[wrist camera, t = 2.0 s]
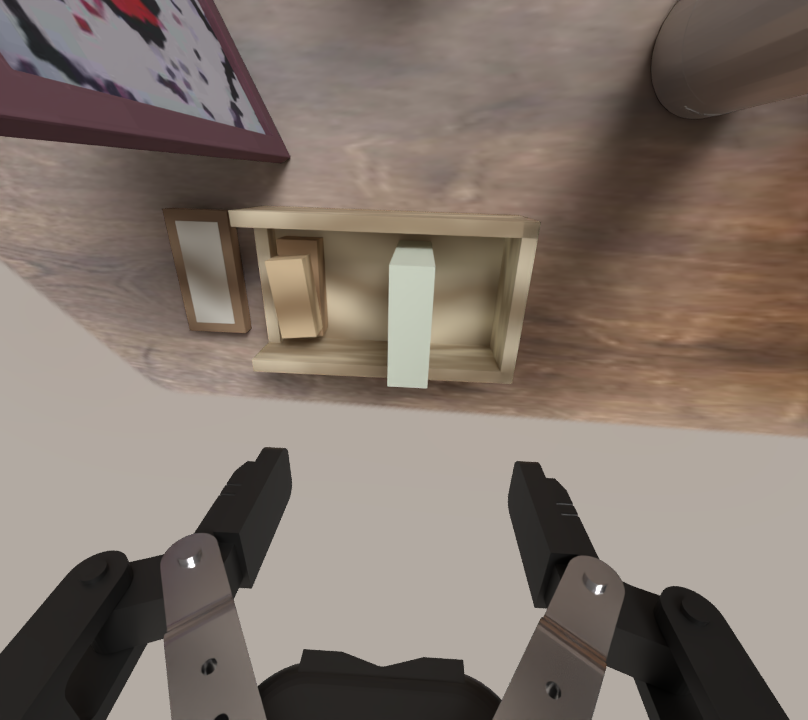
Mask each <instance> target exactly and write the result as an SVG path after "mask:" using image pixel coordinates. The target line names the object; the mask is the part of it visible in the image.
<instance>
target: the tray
mask: <svg viewBox="0 0 808 720" xmlns="http://www.w3.org/2000/svg"><path fill="white" fill-rule="evenodd" d="M228 212H229V218H230V225H231V227H249V228H254V235H255V242H256V250H257V257H258V265H259V272H260V280H261V287H262V295H263V302H264V310H265V317H266V325H267V332H268V340H269V343H268V344H267V345H266V346H265V347H264V348H263V349H262V350H261V351H260V352H259V353H258V354H257V355H256V356H255V357H254V358H253V359H252V364H253V370H254V371H255V372H276V373H296V374H316V375H337V376H357V377H378V378H387V375H388V307H389V264H390V262H391V259H392V257H393V254H394V252H395V250H396V247H397V245H398V242H399V240H406V241H431V243H432V249H433V255H434V261H435V281H434V296H433V311H432V326H431V340H430V355H429V370H428V380H439V381H459V382H480V383H500V384H512V381H513V375H514V369H515V364H516V358H517V353H518V347H519V341H520V336H521V330H522V325H523V319H524V313H525V308H526V302H527V297H528V291H529V285H530V280H531V274H532V269H533V263H534V257H535V252H536V246H537V241H538V235H539V229H540V224H541V222H539V221H535V220H532V219H529V218H526V217H522V216H519V215H499V214H472V213H445V212H419V211H392V210H365V209H338V208H312V207H285V206H258V207H250V208H243V209H235V210H228ZM283 236H305V237H323V242H324V259H325V276H326V293H327V310H328V328H327V330H326V331H325V333H324V334H323V336H319V335H317V336H316V337H300V338H282V336H281V331H280V327H279V322H278V318H277V314H276V309H275V305H274V300H273V296H272V292H271V287H270V283H269V278H268V274H267V270H266V265H265V261H266V260H269V259H271V258H273V257H275V256H278V252H277V242H276V239H278V238H281V237H283Z"/></svg>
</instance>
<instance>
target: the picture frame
mask: <svg viewBox="0 0 808 720" xmlns="http://www.w3.org/2000/svg"><path fill="white" fill-rule="evenodd" d="M0 136H5V137H15V138H26V139H36V140H46V141H57V142H67V143H77V144H87V145H98V146H108V147H118V148H128V149H139V150H149V151H159V152H169V153H180V154H190V155H200V156H210V157H221V158H231V159H241V160H251V161H262V162H272V163H282V162H284V161H286V160H288V159H290V155H289V153H288V151H287V149H286V147H285V145H284V143H283V141H282V139H281V137H280V135H279V133H278V131H277V129H276V127H275V125H274V123H273V120H272V118H271V116H270V114H269V112H268V110H267V108H266V106H265V104H264V102H263V100H262V98H261V96H260V94H259V92H258V90H257V88H256V86H255V84H254V82H253V80H252V78H251V76H250V74H249V72H248V70H247V68H246V66H245V64H244V62H243V60H242V58H241V56H240V54H239V52H238V50H237V48H236V46H235V44H234V42H233V40H232V38H231V35H230V33H229V31H228V29H227V27H226V25H225V23H224V21H223V19H222V17H221V15H220V13H219V11H218V9H217V7H216V5H215V3H214V1H213V0H0Z"/></svg>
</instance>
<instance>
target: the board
mask: <svg viewBox="0 0 808 720" xmlns="http://www.w3.org/2000/svg"><path fill="white" fill-rule="evenodd" d="M162 210H163V214H164V219H165V223H166V228H167V232H168V236H169V241H170V245H171V249H172V254H173V258H174V263H175V267H176V271H177V276H178V280H179V284H180V289H181V293H182V298H183V302H184V306H185V311H186V315H187V319H188V324H189V328H190V330H191V331H213V332H235V333H246V332H248V331H249V330H250V329H251V328H252V327H251V321H250V314H249V307H248V301H247V294H246V288H245V281H244V275H243V268H242V262H241V255H240V248H239V242H238V235H237V229H236V227H231V225H230V218H229V212H228V210H215V209H188V208H165V209H162Z"/></svg>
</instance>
